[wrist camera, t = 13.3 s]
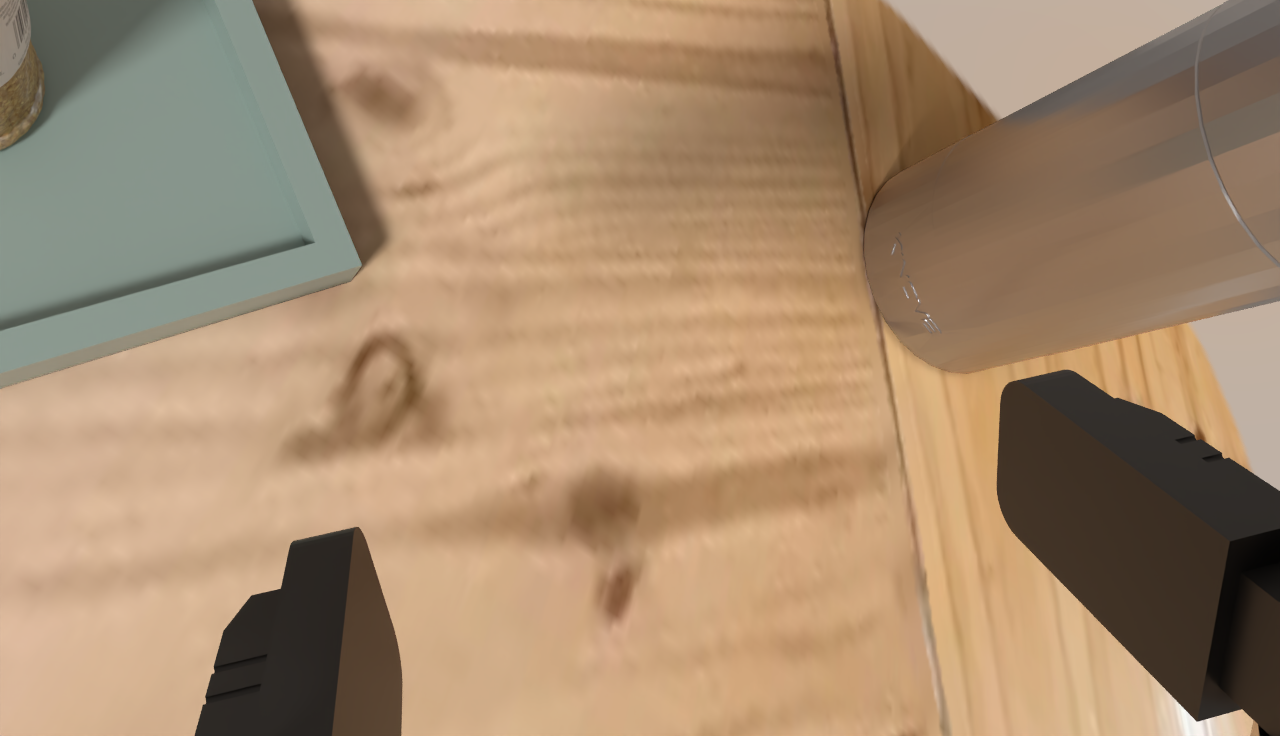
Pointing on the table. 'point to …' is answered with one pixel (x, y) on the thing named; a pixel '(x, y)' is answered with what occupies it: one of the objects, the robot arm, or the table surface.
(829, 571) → the table surface
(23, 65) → the spice jar
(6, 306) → the tray
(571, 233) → the table surface
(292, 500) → the table surface
